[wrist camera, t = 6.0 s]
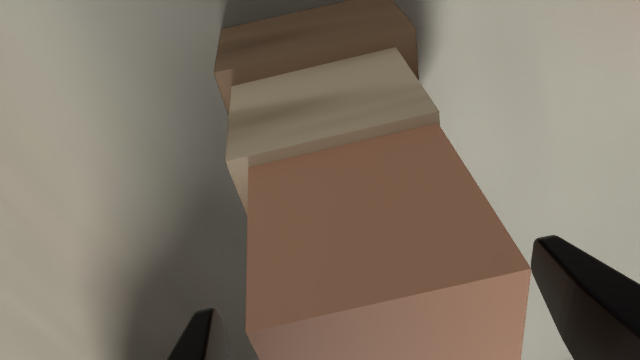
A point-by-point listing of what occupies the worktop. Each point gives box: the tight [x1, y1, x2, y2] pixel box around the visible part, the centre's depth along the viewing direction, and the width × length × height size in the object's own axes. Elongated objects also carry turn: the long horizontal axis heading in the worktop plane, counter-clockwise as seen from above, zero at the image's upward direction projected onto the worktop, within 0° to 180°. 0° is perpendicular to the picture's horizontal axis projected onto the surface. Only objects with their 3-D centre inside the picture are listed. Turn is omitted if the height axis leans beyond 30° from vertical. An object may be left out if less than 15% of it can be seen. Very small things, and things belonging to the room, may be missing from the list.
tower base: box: [214, 0, 419, 115], centre depth 17 cm, size 6×6×4 cm
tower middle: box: [225, 47, 440, 215], centre depth 14 cm, size 5×5×4 cm
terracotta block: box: [246, 123, 531, 360], centre depth 10 cm, size 4×4×4 cm
